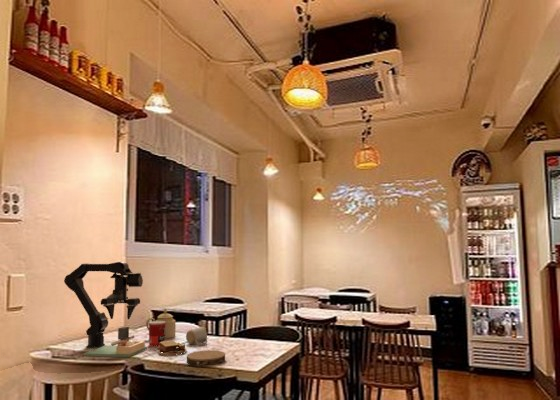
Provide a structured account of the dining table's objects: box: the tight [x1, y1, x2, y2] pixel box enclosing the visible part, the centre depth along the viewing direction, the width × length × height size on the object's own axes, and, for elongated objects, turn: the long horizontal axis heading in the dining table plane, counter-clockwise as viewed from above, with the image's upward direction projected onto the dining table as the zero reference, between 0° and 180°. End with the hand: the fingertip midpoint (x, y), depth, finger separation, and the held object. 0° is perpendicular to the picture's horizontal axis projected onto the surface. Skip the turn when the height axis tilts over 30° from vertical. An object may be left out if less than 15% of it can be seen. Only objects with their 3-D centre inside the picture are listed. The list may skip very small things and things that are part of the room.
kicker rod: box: [110, 326, 136, 346], centre depth 207 cm, size 3×17×10 cm, turn 167°
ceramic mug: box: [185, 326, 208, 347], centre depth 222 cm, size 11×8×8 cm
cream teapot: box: [145, 308, 177, 340], centre depth 241 cm, size 15×11×15 cm
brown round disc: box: [186, 349, 226, 367], centre depth 188 cm, size 16×16×3 cm
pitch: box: [83, 340, 148, 358], centre depth 207 cm, size 22×16×4 cm
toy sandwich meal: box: [157, 340, 187, 356], centre depth 205 cm, size 12×14×5 cm
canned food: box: [148, 320, 166, 347], centre depth 223 cm, size 8×8×11 cm
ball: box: [125, 340, 135, 346], centre depth 206 cm, size 4×4×4 cm
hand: (120, 319), depth 221 cm, fingers open, 9 cm apart
